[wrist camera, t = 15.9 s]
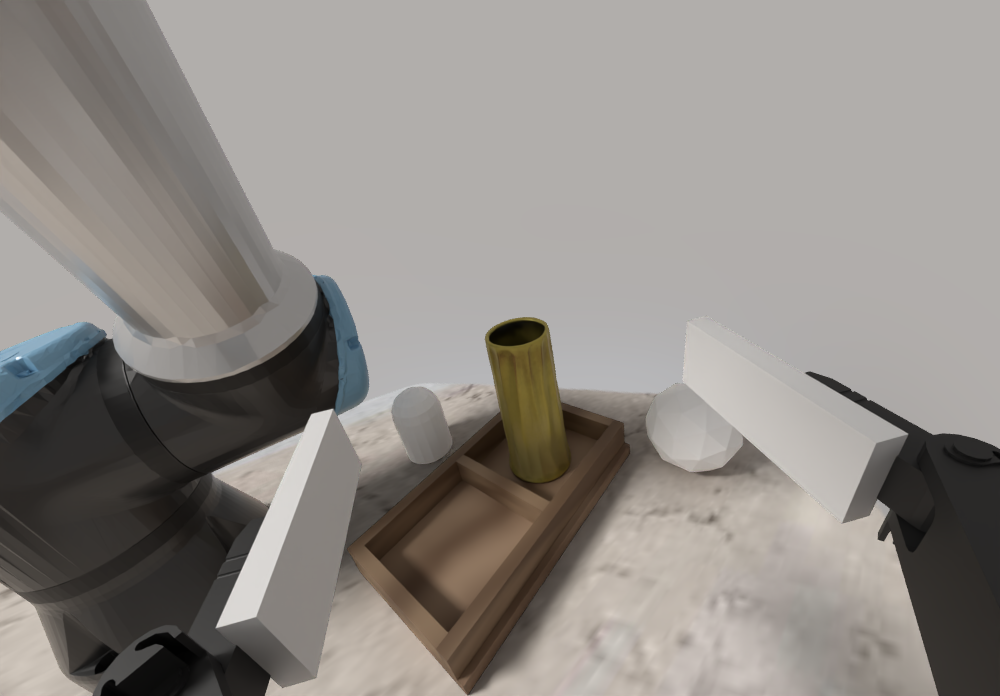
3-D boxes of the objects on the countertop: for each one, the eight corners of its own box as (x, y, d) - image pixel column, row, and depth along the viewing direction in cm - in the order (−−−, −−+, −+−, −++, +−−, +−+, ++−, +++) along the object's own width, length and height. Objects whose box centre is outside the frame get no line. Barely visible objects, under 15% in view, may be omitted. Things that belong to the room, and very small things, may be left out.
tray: (360, 572, 31) (343, 545, 29) (525, 413, 45) (521, 388, 43) (467, 695, 23) (452, 667, 21) (629, 453, 37) (628, 424, 35)
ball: (667, 466, 38) (639, 390, 39) (757, 450, 34) (723, 367, 35) (657, 492, 31) (624, 400, 32) (767, 476, 27) (725, 373, 29)
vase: (565, 433, 39) (548, 309, 32) (577, 479, 34) (560, 341, 27) (508, 442, 39) (479, 322, 33) (511, 489, 34) (478, 356, 27)
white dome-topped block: (413, 434, 46) (392, 380, 42) (455, 428, 45) (437, 373, 41) (402, 467, 41) (377, 410, 37) (449, 460, 40) (429, 402, 37)
